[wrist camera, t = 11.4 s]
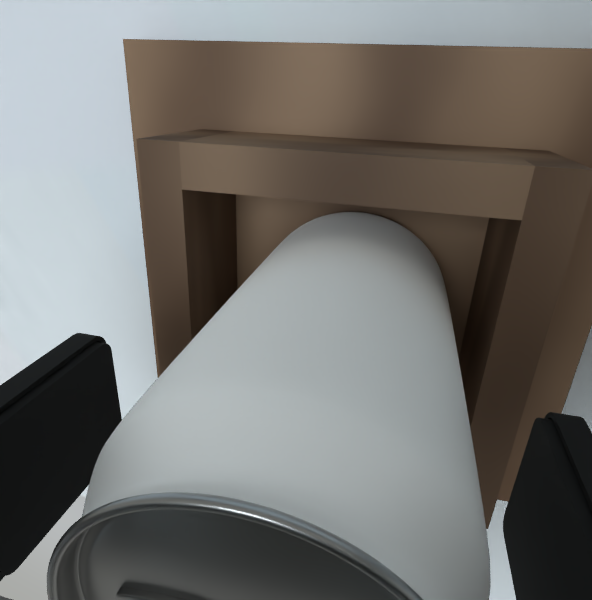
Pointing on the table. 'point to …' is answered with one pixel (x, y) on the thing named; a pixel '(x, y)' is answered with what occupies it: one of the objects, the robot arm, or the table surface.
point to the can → (297, 443)
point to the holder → (382, 194)
